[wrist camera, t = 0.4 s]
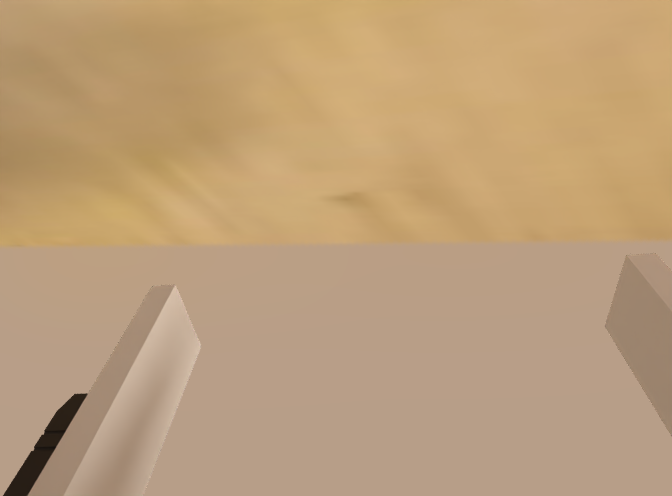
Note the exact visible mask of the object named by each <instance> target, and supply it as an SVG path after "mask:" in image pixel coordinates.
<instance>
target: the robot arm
mask: <svg viewBox="0 0 672 496" xmlns="http://www.w3.org/2000/svg"><path fill="white" fill-rule="evenodd" d="M605 327H606V329H607V331H608V332H609V334H610V336H611V337H612V339H613V341H614V342H615V344H616V346H617V347H618V349H619V350H620V352H621V354H622V355H623V357H624V359H625V360H626V362H627V364H628V365H629V367H630V369H631V370H632V372H633V373H634V375H635V377H636V378H637V380H638V382H639V383H640V385H641V387H642V388H643V390H644V392H645V393H646V395H647V396H648V398H649V400H650V401H651V403H652V405H653V406H654V408H655V410H656V411H657V413H658V415H659V416H660V418H661V420H662V421H663V423H664V424H665V426H666V428H667V429H668V431H669V433H670V434H671V436H672V271H671V270H670V268H669V267H668V266H667V265H666V264H665V263H664V262H663V261H662V260H661V258H660V257H659V256H658V255H657V254H656V253H651V254H636V255H626V258H625V261H624V264H623V268H622V271H621V274H620V278H619V281H618V284H617V287H616V291H615V294H614V298H613V301H612V304H611V307H610V311H609V314H608V317H607V321H606V324H605ZM200 348H201V344H200V342H199V340H198V337H197V335H196V332H195V330H194V328H193V325H192V323H191V321H190V318H189V316H188V313H187V311H186V309H185V306H184V304H183V302H182V299H181V297H180V294H179V292H178V290H177V287H176V285H161V286H152V287H151V289H150V290H149V292H148V294H147V295H146V297H145V299H144V300H143V302H142V304H141V305H140V307H139V309H138V310H137V312H136V314H135V315H134V317H133V319H132V321H131V322H130V324H129V326H128V327H127V329H126V331H125V332H124V334H123V336H122V337H121V339H120V341H119V342H118V344H117V346H116V347H115V349H114V351H113V353H112V354H111V356H110V358H109V360H108V361H107V363H106V364H105V366H104V368H103V369H102V371H101V373H100V375H99V376H98V378H97V380H96V382H95V383H94V385H93V387H92V388H91V390H90V391H89V393H88V394H74V395H73V396H72V397H71V398H70V399H69V400H68V401H67V402H66V403H65V404H64V405H63V406H62V407H61V408H60V409H59V410H58V411H57V412H56V413H55V415H54V417H53V418H52V420H51V421H50V423H49V424H48V426H47V427H46V429H45V433H44V435H41V437H40V439H39V440H38V442H37V443H36V445H35V446H34V451H31V453H30V454H29V456H28V457H27V459H26V460H25V462H24V464H23V465H22V467H21V468H20V470H19V471H18V473H17V475H16V476H15V478H14V479H13V481H12V482H11V484H10V486H9V487H8V489H7V490H6V492H5V493H4V495H3V496H143V495H144V492H145V489H146V487H147V484H148V481H149V479H150V476H151V474H152V472H153V469H154V466H155V463H156V461H157V458H158V456H159V453H160V451H161V448H162V446H163V443H164V441H165V438H166V436H167V433H168V430H169V428H170V425H171V423H172V420H173V417H174V415H175V412H176V410H177V407H178V405H179V402H180V400H181V397H182V394H183V392H184V389H185V387H186V384H187V382H188V379H189V377H190V374H191V371H192V369H193V366H194V363H195V361H196V359H197V356H198V353H199V351H200Z"/></svg>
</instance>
